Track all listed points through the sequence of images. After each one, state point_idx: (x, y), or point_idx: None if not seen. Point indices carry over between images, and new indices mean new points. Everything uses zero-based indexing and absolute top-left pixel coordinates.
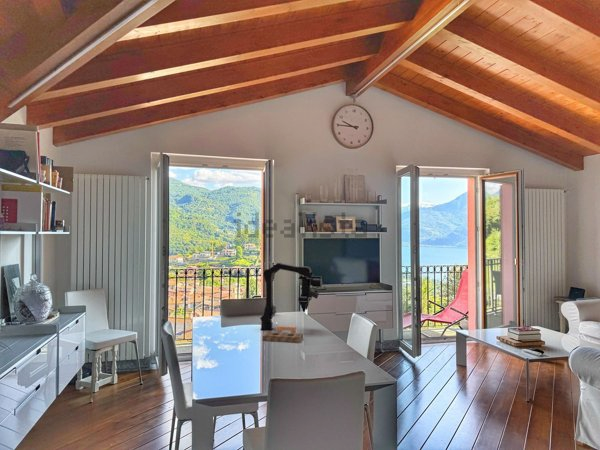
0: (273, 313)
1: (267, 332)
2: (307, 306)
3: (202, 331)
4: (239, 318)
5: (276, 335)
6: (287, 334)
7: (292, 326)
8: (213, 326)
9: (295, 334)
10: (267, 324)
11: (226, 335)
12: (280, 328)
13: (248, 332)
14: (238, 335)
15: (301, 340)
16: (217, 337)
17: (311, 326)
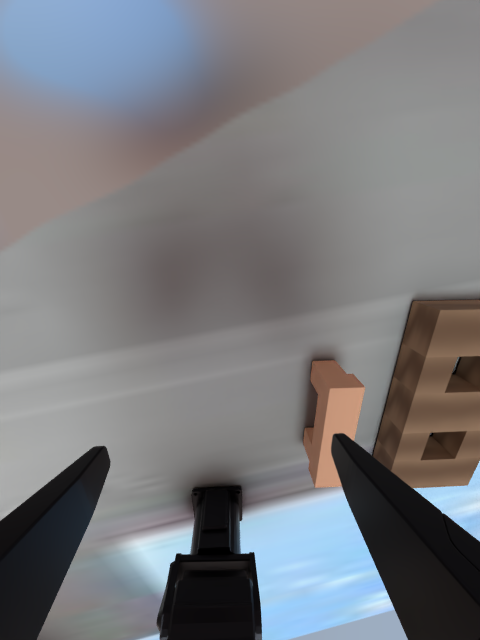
0: (242, 608)
1: None
2: (67, 494)
3: (304, 626)
4: (44, 623)
5: (474, 435)
6: (454, 393)
7: (327, 411)
8: None
9: (457, 351)
10: (237, 529)
11: (352, 571)
12: None
13: (291, 537)
14: (348, 546)
15: (460, 300)
16: None
17: (20, 316)
